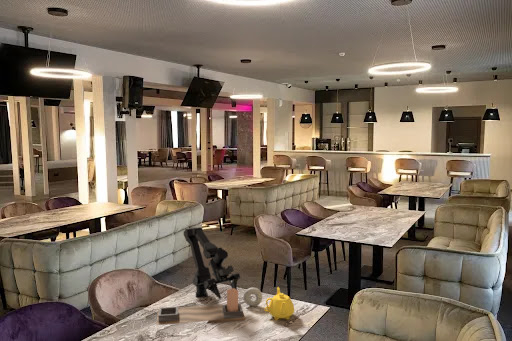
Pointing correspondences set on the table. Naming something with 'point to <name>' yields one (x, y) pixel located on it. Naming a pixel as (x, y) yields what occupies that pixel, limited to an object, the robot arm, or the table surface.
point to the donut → (250, 301)
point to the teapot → (280, 306)
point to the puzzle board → (199, 314)
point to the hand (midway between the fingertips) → (228, 296)
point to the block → (232, 300)
